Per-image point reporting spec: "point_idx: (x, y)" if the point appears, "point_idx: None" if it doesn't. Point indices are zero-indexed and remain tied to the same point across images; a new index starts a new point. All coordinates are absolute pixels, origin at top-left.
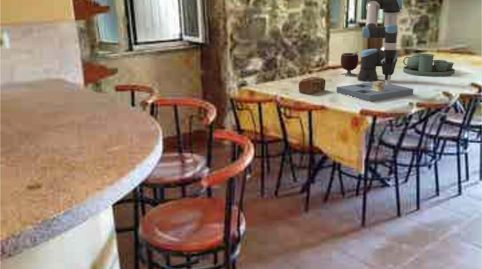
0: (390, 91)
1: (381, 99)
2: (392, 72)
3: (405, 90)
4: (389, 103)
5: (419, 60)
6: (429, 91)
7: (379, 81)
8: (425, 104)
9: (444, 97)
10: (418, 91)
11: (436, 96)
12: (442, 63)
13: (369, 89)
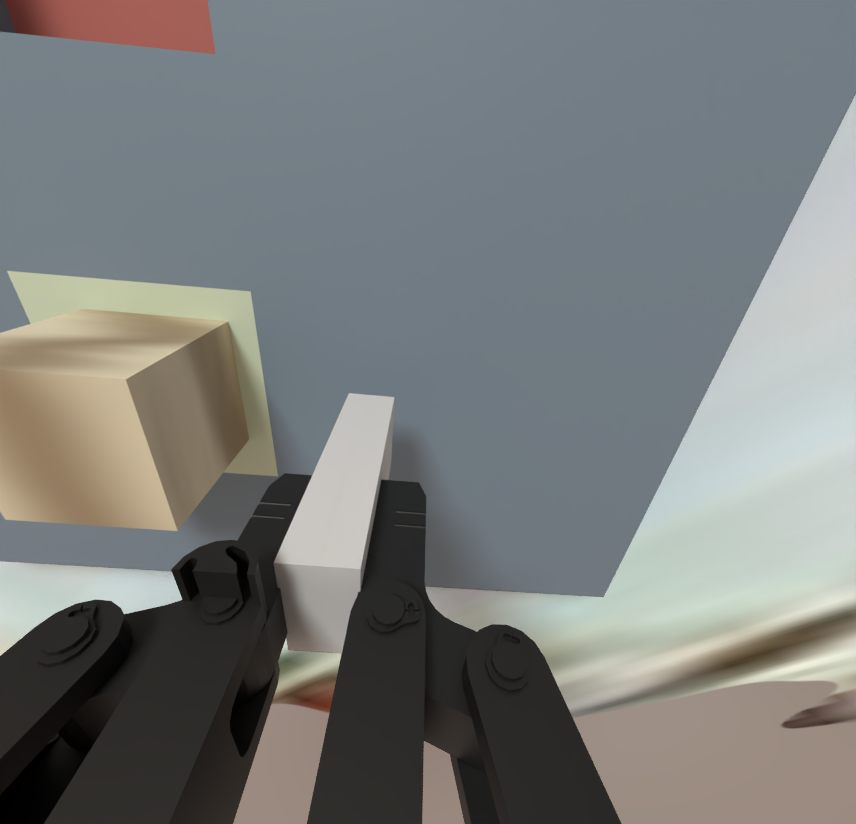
0: None
1: None
2: (464, 762)
3: (472, 584)
4: (138, 603)
5: None
6: (849, 539)
7: (108, 448)
8: None
9: (646, 677)
10: (792, 485)
11: (645, 645)
12: None
13: (9, 304)
